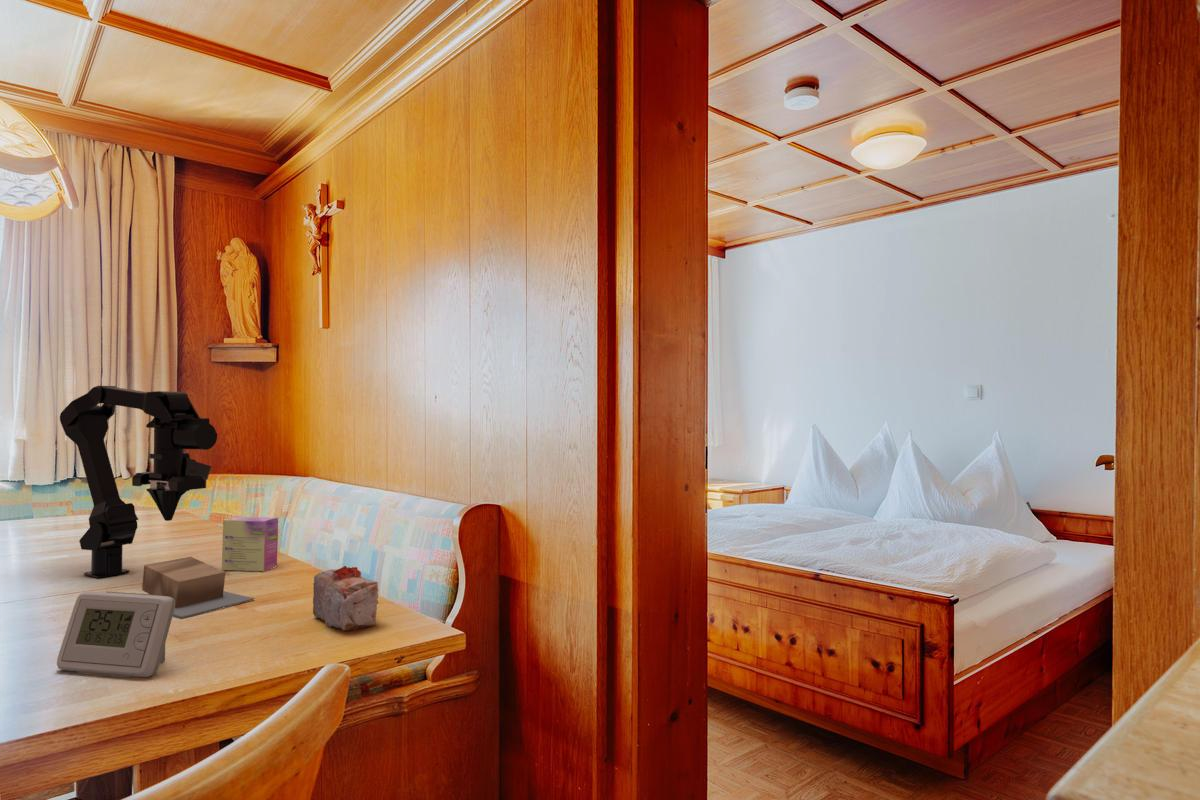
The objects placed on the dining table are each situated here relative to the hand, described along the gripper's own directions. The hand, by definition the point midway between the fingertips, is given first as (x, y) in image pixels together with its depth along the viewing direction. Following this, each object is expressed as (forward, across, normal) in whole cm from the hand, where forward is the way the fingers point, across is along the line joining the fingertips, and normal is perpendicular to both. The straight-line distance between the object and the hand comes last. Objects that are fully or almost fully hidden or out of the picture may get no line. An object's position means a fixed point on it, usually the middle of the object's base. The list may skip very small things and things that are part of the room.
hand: (168, 520), depth 152 cm
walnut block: (+8, -13, +7) cm, 17 cm away
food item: (+13, -57, 0) cm, 58 cm away
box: (+13, -5, -16) cm, 21 cm away
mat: (+13, -23, +7) cm, 27 cm away
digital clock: (+13, -46, +32) cm, 58 cm away
